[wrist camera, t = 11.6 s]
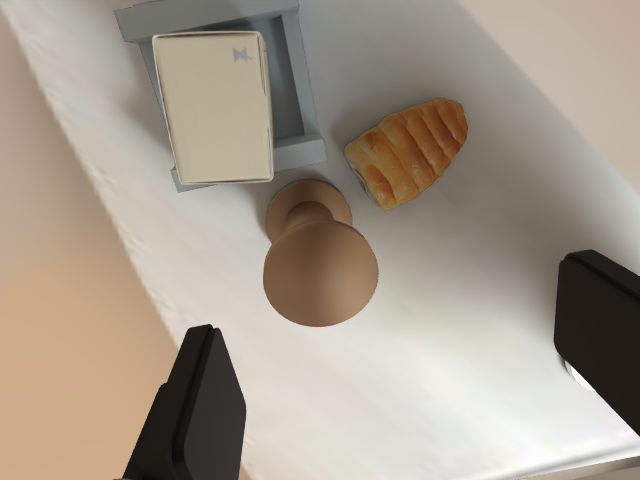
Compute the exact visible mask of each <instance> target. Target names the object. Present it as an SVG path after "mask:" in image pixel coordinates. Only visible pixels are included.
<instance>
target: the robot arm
mask: <svg viewBox="0 0 640 480" xmlns="http://www.w3.org/2000/svg"><path fill="white" fill-rule="evenodd" d="M554 345H555V348H556V350H557V352H558V353H559V354H560V355H561V356H562V357H563V358H564V359H565V365H566V368H567V371H568V372H569V374H570V375H571V376H572V378H574V379H575V380H576V381H577V382H578V383H579V384H580V385H581V386H583V387H585V388H586V389H589V390H592V391H596V392H597V393H598V394H599V395H600V396H601V397H602V398H603V399H604V400H605V401H606V402H607V404H608V405H609V406H610V407H611V408H612V409H613V410H614V411H615V412H616V413H617V414H618V415H619V416H620V417H621V418H622V419H623V420H624V421H625V422H626V423H627V424H628V425H629V426H630V427H631V428H632V429H633V430H634V431H635V432H636V433H637V434H638V435H639V436H640V276H638V275H636V274H635V273H633V272H631V271H629V270H628V269H626V268H624V267H622V266H621V265H619V264H617V263H615V262H614V261H612V260H610V259H609V258H607V257H605V256H603V255H602V254H600V253H598V252H596V251H594V250H592V249H590V250H584V251H579V252H573V253H569V254H567V255H566V256H565V258H564V260H562V261H561V262H560V264H559V274H558V287H557V301H556V315H555V328H554ZM245 421H246V404H245V400H244V397H243V394H242V391H241V388H240V385H239V382H238V380H237V377H236V374H235V371H234V368H233V365H232V362H231V359H230V356H229V353H228V350H227V348H226V345H225V342H224V339H223V336H222V333H221V331H220V329H219V328H214V329H213V327H212V325H211V324H207V325H202V326H197V327H192V328H189V329H188V330H187V332H186V335H185V338H184V340H183V343H182V345H181V348H180V350H179V353H178V356H177V358H176V360H175V363H174V366H173V368H172V371H171V373H170V376H169V378H168V381H167V383H164V384H163V385H161V387H160V388H159V390H158V392H157V394H156V397H155V399H154V402H153V404H152V407H151V409H150V412H149V414H148V416H147V419H146V421H145V424H144V426H143V428H142V431H141V434H140V436H139V438H138V441H137V443H136V446H135V448H134V450H133V453H132V455H131V458H130V460H129V462H128V465H127V467H126V470H125V472H124V475H123V477H122V478H121V479H113V480H238V478H239V469H240V461H241V453H242V445H243V437H244V429H245ZM517 480H640V456H637V457H631V458H626V459H621V460H616V461H610V462H605V463H600V464H595V465H589V466H584V467H579V468H574V469H568V470H563V471H558V472H553V473H548V474H543V475H538V476H532V477H527V478H522V479H517Z"/></svg>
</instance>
